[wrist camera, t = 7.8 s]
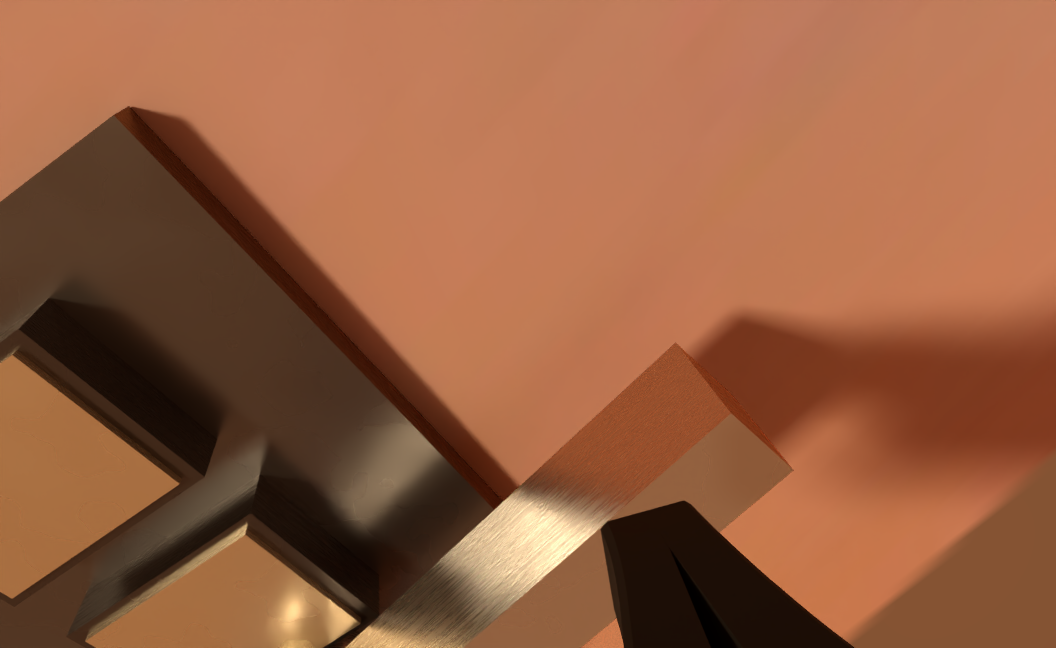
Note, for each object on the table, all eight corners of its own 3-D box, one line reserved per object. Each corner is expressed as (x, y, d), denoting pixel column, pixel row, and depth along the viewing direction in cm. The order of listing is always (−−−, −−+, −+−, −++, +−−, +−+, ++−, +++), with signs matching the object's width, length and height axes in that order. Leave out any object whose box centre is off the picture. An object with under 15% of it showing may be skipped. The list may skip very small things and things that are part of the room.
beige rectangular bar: (340, 767, 22) (335, 879, 19) (225, 726, 20) (201, 843, 17) (749, 411, 18) (812, 487, 15) (654, 323, 16) (707, 392, 14)
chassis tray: (544, 545, 23) (563, 612, 21) (212, 753, 25) (195, 837, 22) (128, 106, 15) (82, 133, 13) (-328, 456, 16) (-446, 539, 14)
